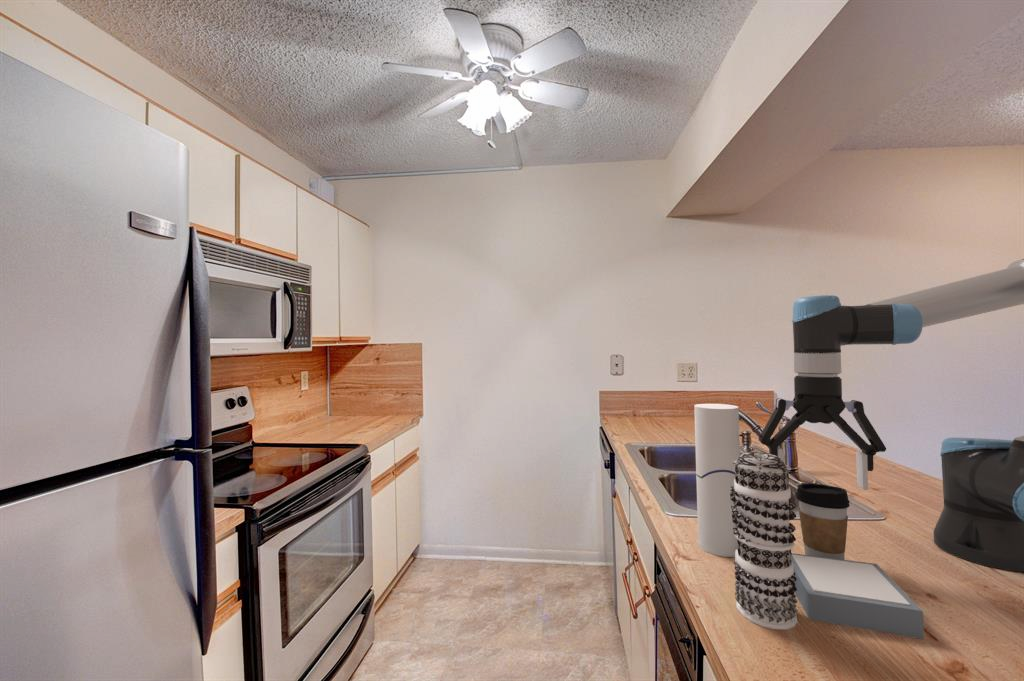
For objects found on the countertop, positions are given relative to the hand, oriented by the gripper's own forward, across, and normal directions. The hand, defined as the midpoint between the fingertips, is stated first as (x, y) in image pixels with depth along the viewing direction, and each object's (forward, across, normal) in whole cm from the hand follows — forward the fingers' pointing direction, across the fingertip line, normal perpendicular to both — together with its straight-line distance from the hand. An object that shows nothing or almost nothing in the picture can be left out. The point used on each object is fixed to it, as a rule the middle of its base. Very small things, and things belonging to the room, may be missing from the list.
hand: (819, 484), depth 82 cm
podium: (+16, 0, +13) cm, 20 cm away
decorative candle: (+16, +14, +20) cm, 29 cm away
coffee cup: (+16, 0, 0) cm, 16 cm away
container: (+16, +18, -2) cm, 24 cm away
